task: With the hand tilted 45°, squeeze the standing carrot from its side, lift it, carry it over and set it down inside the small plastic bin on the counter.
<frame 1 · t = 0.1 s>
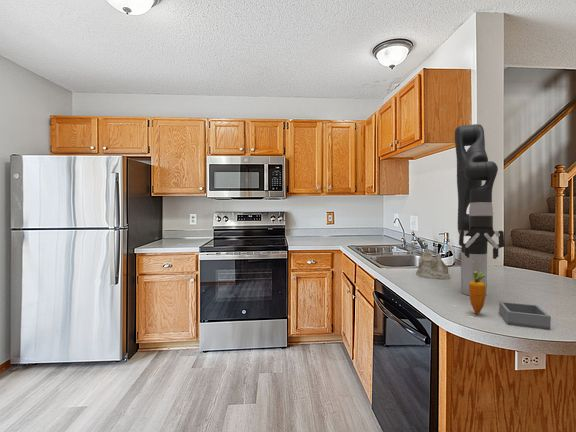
hand: (481, 258, 113), 17 cm above the table, tool pointing down, fingers open, 8 cm apart
bin: (522, 320, 97), on the table
carrot: (476, 314, 103), on the table
ceramic cottage: (433, 276, 157), on the table
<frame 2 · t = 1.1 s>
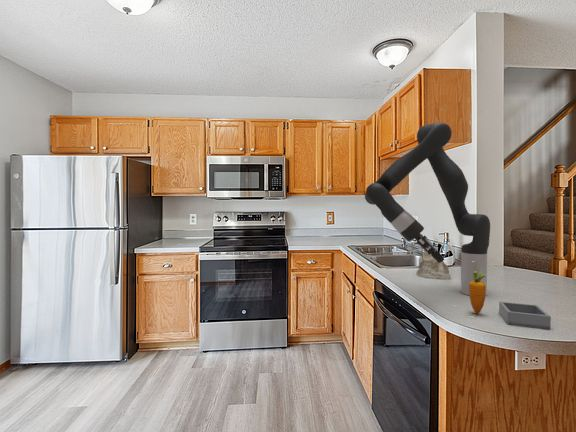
hand: (440, 259, 107), 18 cm above the table, tool tilted 45°, fingers open, 8 cm apart
nothing on the table moved.
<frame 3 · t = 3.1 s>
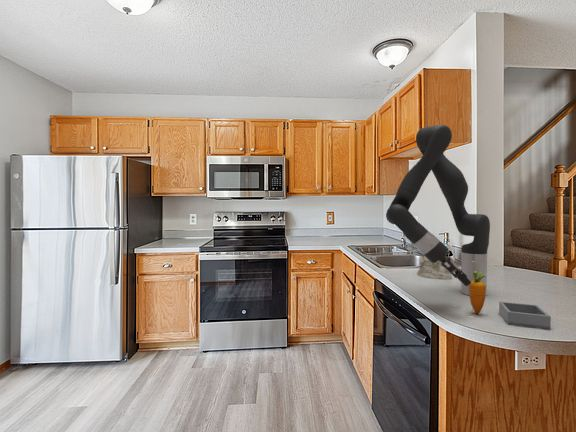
hand: (466, 281, 104), 11 cm above the table, tool tilted 45°, fingers open, 8 cm apart
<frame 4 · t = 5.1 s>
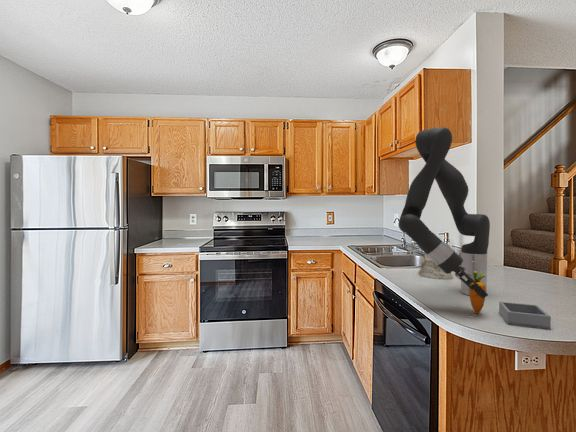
hand: (483, 294, 102), 7 cm above the table, tool tilted 45°, fingers closed on carrot, 4 cm apart
carrot: (476, 314, 104), on the table, touching gripper
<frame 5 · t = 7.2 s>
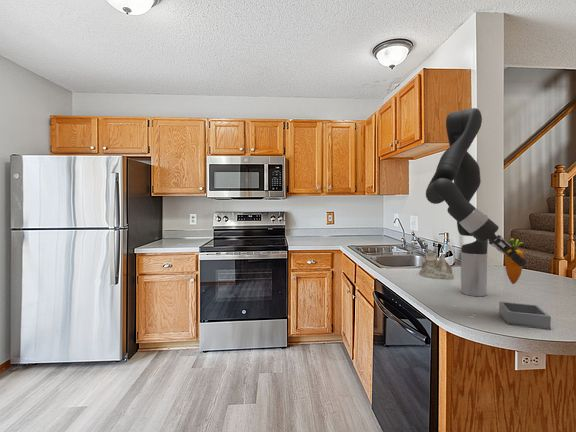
hand: (520, 262, 97), 19 cm above the table, tool tilted 45°, fingers closed on carrot, 4 cm apart
carrot: (513, 284, 98), point 11 cm above the table, touching gripper
when the fingers open (9 cm above the table, at t = 9.6 s): carrot drops 2 cm, resting on bin.
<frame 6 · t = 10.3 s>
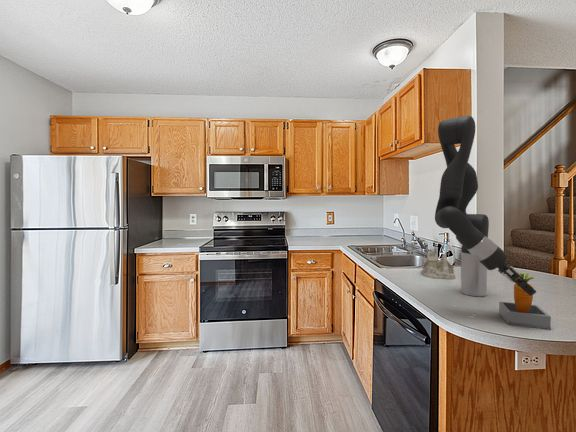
hand: (528, 290, 96), 10 cm above the table, tool tilted 45°, fingers open, 8 cm apart
carrot: (522, 318, 97), point 1 cm above the table, touching bin
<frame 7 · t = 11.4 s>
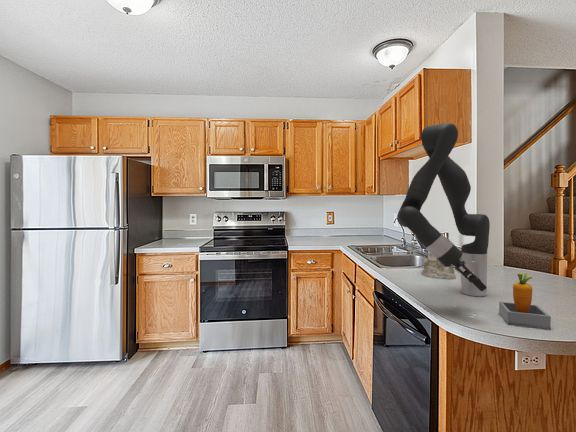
hand: (481, 286, 101), 10 cm above the table, tool tilted 45°, fingers open, 8 cm apart
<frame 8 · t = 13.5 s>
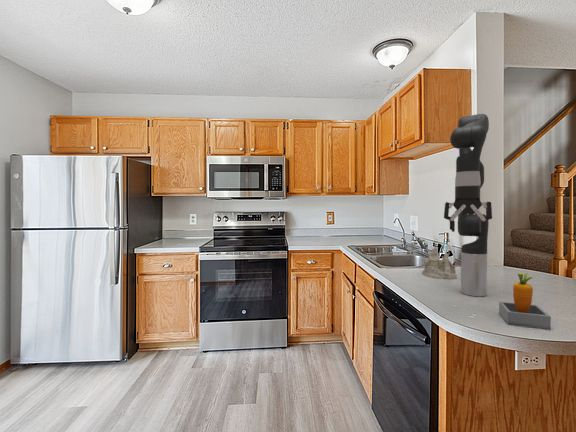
hand: (466, 231, 105), 28 cm above the table, tool pointing down, fingers open, 8 cm apart
at the end: carrot inside the target area on the bin (0.2 cm from its centre), point 0.6 cm above the bin's base; the gripper is holding nothing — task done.
